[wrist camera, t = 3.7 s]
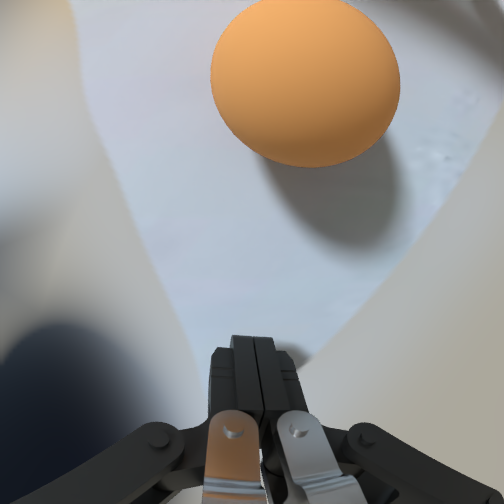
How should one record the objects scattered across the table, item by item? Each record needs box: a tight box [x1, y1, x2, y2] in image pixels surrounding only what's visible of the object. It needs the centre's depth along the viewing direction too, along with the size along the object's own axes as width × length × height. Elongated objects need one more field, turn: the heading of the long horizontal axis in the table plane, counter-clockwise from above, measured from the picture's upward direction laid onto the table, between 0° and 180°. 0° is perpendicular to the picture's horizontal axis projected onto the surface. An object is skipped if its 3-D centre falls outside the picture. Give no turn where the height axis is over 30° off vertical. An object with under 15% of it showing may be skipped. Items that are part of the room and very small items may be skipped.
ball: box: [210, 0, 400, 168], centre depth 7 cm, size 5×5×5 cm
